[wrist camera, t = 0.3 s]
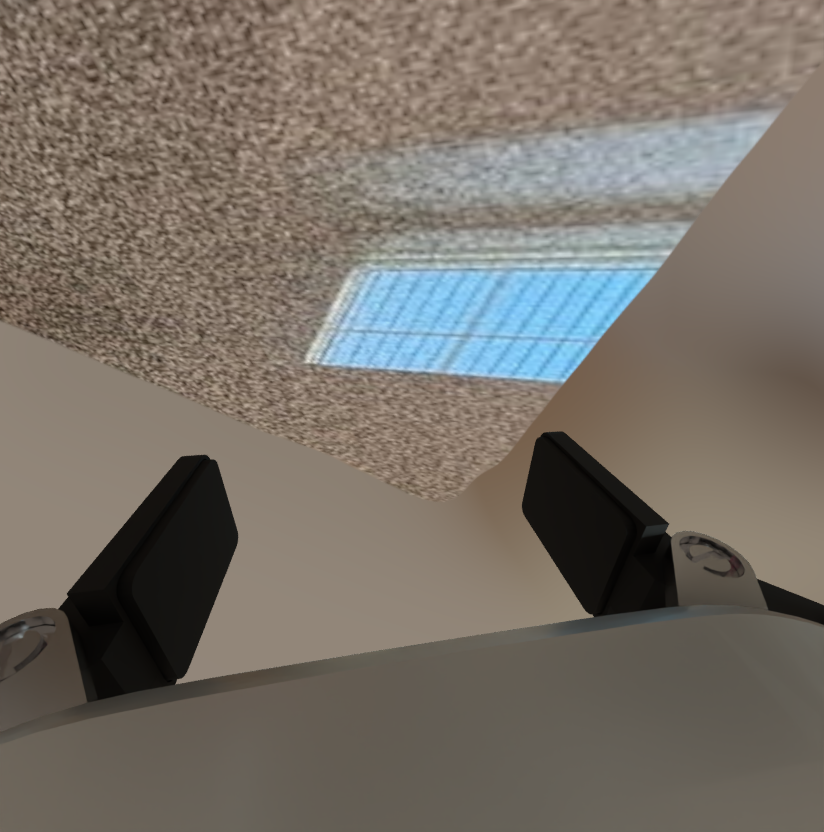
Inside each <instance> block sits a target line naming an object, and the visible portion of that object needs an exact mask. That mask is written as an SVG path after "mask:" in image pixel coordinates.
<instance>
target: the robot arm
mask: <svg viewBox="0 0 824 832" xmlns="http://www.w3.org/2000/svg"><path fill="white" fill-rule="evenodd" d="M522 510H523V513H524V515H525V517H526V519H527V520H528V522H529V523H530V525H531V527H532V528H533V530H534V531H535V533H536V534H537V536H538V538H539V539H540V541H541V542H542V544H543V545H544V547H545V549H546V550H547V552H548V553H549V555H550V556H551V558H552V559H553V561H554V563H555V564H556V566H557V567H558V569H559V570H560V572H561V574H562V575H563V577H564V578H565V580H566V581H567V583H568V584H569V586H570V588H571V589H572V591H573V592H574V594H575V595H576V597H577V599H578V600H579V602H580V603H581V605H582V606H583V608H584V609H585V611H586V612H588V613H589V614H593V616H594V617H593V618H586V619H580V620H573V621H566V622H560V623H553V624H547V625H541V626H534V627H527V628H520V629H513V630H507V631H500V632H494V633H488V634H481V635H475V636H468V637H462V638H456V639H449V640H443V641H437V642H430V643H424V644H418V645H411V646H405V647H399V648H392V649H386V650H379V651H373V652H367V653H361V654H354V655H348V656H342V657H336V658H330V659H324V660H318V661H312V662H305V663H299V664H293V665H287V666H281V667H275V668H269V669H262V670H256V671H250V672H244V673H238V674H232V675H226V676H221V677H215V678H209V679H204V680H198V681H194V682H188V683H182V684H176V681H177V679H180V678H183V677H184V676H185V674H186V672H187V670H188V668H189V666H190V663H191V661H192V658H193V656H194V653H195V650H196V648H197V646H198V643H199V640H200V638H201V635H202V633H203V630H204V628H205V625H206V623H207V620H208V618H209V615H210V612H211V610H212V607H213V605H214V602H215V600H216V597H217V595H218V592H219V589H220V587H221V585H222V582H223V579H224V577H225V574H226V572H227V569H228V567H229V564H230V562H231V559H232V556H233V554H234V551H235V549H236V546H237V543H238V531H237V528H236V524H235V521H234V518H233V514H232V511H231V507H230V504H229V501H228V497H227V494H226V491H225V488H224V484H223V480H222V477H221V474H220V470H219V467H218V464H217V462H216V461H215V460H210V458H209V457H208V456H207V455H194V456H182V457H180V458H179V459H178V460H177V462H176V463H175V464H174V465H173V466H172V468H171V469H170V470H169V471H168V472H167V474H166V475H165V476H164V477H163V478H162V480H161V481H160V482H159V483H158V485H157V486H156V487H155V488H154V489H153V491H152V492H151V493H150V494H149V495H148V497H147V498H146V499H145V500H144V501H143V503H142V504H141V505H140V506H139V507H138V509H137V510H136V511H135V512H134V514H133V515H132V516H131V517H130V518H129V519H128V521H127V522H126V523H125V524H124V526H123V527H122V528H121V529H120V530H119V531H118V533H117V534H116V535H115V536H114V538H113V539H112V540H111V541H110V542H109V543H108V545H107V546H106V547H105V548H104V550H103V551H102V552H101V553H100V554H99V556H98V557H97V558H96V559H95V560H94V561H93V563H92V564H91V565H90V566H89V567H88V569H87V570H86V571H85V572H84V574H83V575H82V576H81V577H80V579H78V581H77V582H76V583H75V584H74V586H73V587H72V588H71V589H70V590H69V592H68V593H67V595H68V598H67V599H66V600H65V602H64V603H63V604H62V605H61V606H60V608H59V609H55V608H45V609H37V610H34V611H30V612H26V613H23V614H21V615H18V616H16V617H14V618H11V619H9V620H7V621H5V622H3V623H1V624H0V832H824V605H822V604H819V603H817V602H814V601H812V600H809V599H806V598H804V597H802V596H799V595H797V594H794V593H791V592H789V591H786V590H784V589H781V588H779V587H776V586H774V585H771V584H769V583H766V582H764V581H761V580H759V579H757V578H756V575H755V573H754V571H753V569H752V567H751V565H750V564H749V562H748V561H747V560H746V559H745V558H744V557H743V556H742V555H741V554H740V553H738V552H737V551H736V550H734V549H733V548H731V547H730V546H729V545H727V544H725V543H723V542H721V541H720V540H718V539H715V538H713V537H710V536H707V535H705V534H701V533H697V532H692V531H682V532H677V533H676V534H674V535H673V536H672V537H670V536H669V535H668V534H667V533H666V532H665V531H666V529H667V527H668V525H669V523H668V522H666V521H665V520H664V519H663V518H662V517H661V516H660V515H658V514H657V513H656V512H655V511H654V510H653V509H651V508H650V507H649V506H648V505H647V504H646V503H645V502H643V501H642V500H641V499H640V498H639V497H638V496H637V495H635V494H634V493H633V492H632V491H631V490H630V489H629V488H627V487H626V486H625V485H624V484H623V483H622V482H620V481H619V480H618V479H617V478H616V477H615V476H614V475H612V474H611V473H610V472H609V471H608V470H607V469H605V467H603V466H602V465H601V464H599V462H597V461H596V460H595V459H594V458H593V457H592V456H591V455H590V454H588V453H587V452H586V451H585V450H584V449H583V448H582V447H580V446H579V445H578V444H577V443H576V442H575V441H574V440H572V439H571V438H570V437H569V436H568V435H567V434H565V433H564V432H546V433H543V434H542V435H541V437H539V438H537V440H536V442H535V446H534V451H533V456H532V461H531V465H530V470H529V474H528V479H527V483H526V488H525V493H524V497H523V502H522ZM175 684H176V685H175Z"/></svg>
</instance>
